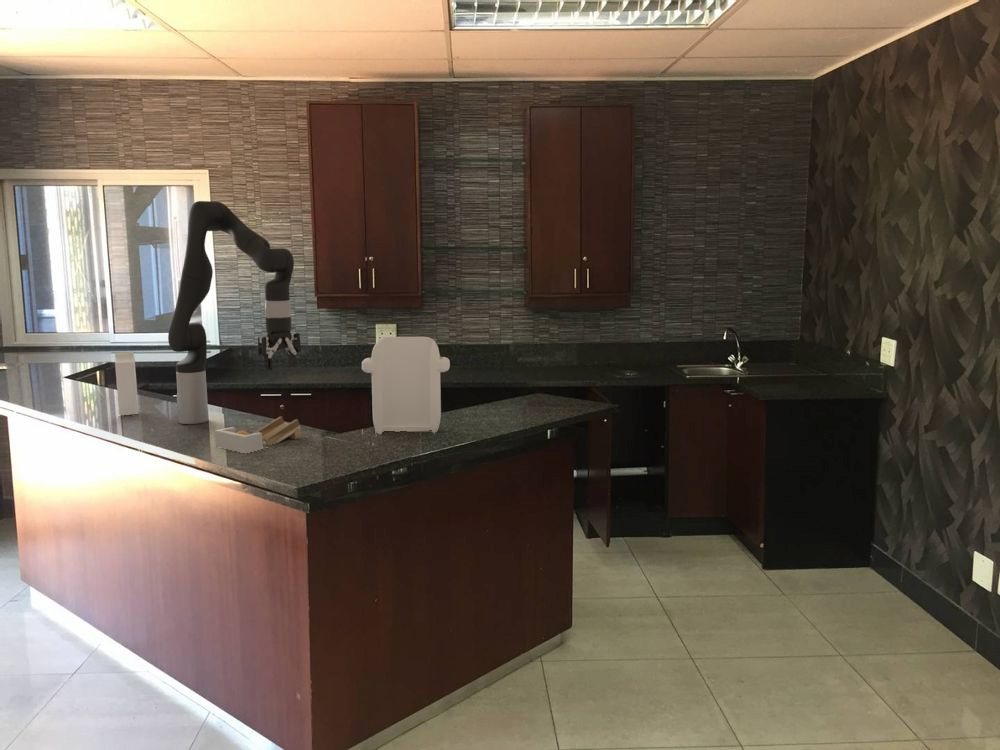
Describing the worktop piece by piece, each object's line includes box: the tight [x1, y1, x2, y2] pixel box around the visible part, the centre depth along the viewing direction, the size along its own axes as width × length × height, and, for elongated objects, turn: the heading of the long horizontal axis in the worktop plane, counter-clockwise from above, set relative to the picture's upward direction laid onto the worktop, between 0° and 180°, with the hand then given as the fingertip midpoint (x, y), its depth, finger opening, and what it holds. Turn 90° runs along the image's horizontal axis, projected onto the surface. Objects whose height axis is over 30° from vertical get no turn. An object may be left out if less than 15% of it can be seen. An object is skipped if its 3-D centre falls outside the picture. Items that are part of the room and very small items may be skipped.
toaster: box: [361, 336, 451, 435], centre depth 262 cm, size 27×11×30 cm, turn 92°
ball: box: [236, 430, 250, 435], centre depth 243 cm, size 5×5×5 cm
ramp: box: [253, 415, 302, 446], centre depth 252 cm, size 8×13×7 cm, turn 144°
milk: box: [114, 351, 139, 416], centre depth 290 cm, size 6×6×22 cm
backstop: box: [214, 426, 264, 455], centre depth 242 cm, size 14×6×5 cm, turn 53°
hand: (280, 368), depth 251 cm, fingers open, 8 cm apart
